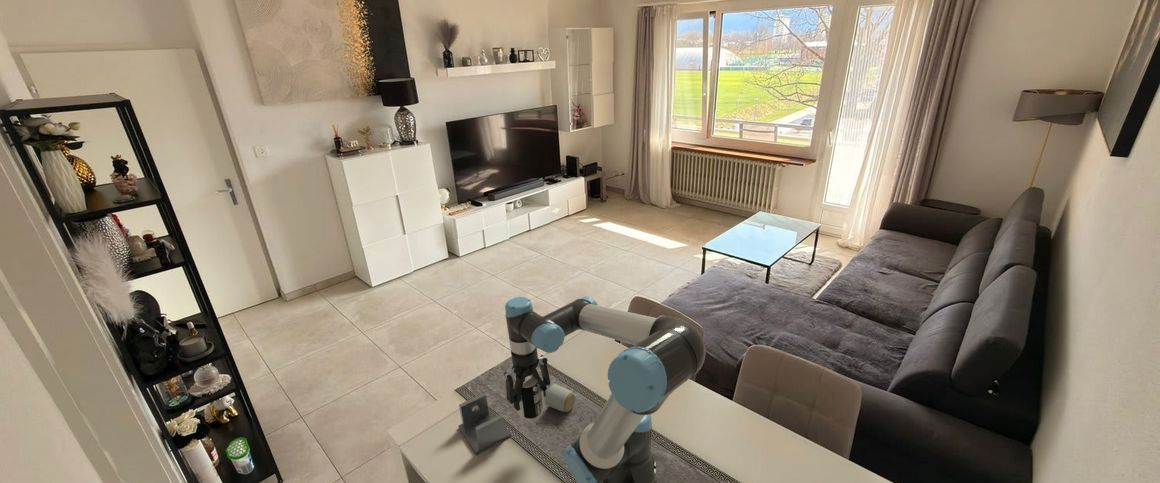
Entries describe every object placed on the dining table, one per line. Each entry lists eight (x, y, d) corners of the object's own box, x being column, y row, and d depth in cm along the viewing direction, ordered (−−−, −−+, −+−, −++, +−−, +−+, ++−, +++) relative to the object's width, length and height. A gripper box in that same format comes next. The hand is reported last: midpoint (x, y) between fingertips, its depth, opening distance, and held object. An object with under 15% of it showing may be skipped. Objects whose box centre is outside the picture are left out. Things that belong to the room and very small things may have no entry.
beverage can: (518, 409, 148) (513, 377, 144) (537, 402, 151) (534, 371, 146) (525, 422, 143) (520, 390, 138) (545, 415, 145) (541, 383, 140)
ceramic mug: (566, 418, 160) (565, 399, 157) (545, 410, 163) (544, 392, 160) (581, 398, 168) (580, 380, 165) (561, 391, 172) (560, 374, 169)
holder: (510, 436, 154) (508, 414, 150) (476, 454, 147) (472, 432, 144) (491, 411, 164) (488, 390, 160) (458, 428, 158) (454, 406, 154)
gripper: (545, 330, 146) (551, 390, 154) (487, 355, 135) (497, 419, 144) (558, 340, 140) (564, 403, 149) (499, 368, 130) (509, 433, 138)
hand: (531, 410), depth 146 cm, fingers closed on beverage can, 7 cm apart
